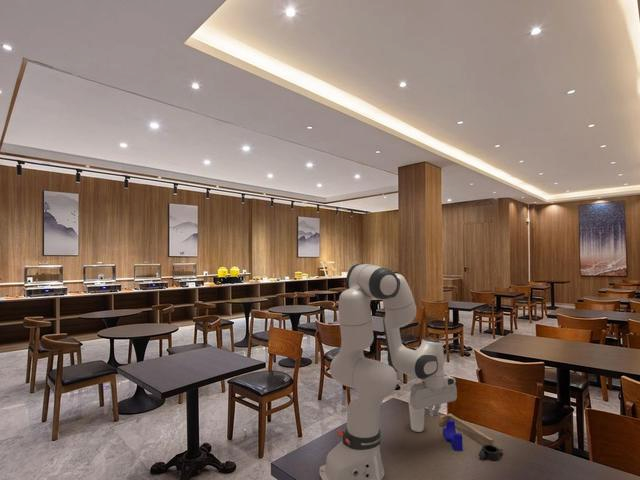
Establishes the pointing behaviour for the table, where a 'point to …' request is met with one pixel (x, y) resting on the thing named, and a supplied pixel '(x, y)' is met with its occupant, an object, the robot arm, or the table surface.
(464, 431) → the bar
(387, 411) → the table surface
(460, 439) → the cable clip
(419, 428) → the drinking glass
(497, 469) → the table surface
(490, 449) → the black winged round fixture
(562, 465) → the table surface
